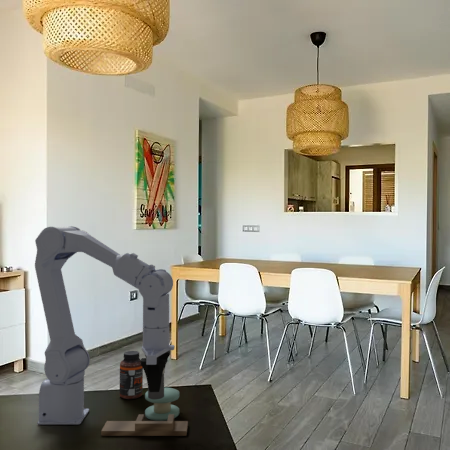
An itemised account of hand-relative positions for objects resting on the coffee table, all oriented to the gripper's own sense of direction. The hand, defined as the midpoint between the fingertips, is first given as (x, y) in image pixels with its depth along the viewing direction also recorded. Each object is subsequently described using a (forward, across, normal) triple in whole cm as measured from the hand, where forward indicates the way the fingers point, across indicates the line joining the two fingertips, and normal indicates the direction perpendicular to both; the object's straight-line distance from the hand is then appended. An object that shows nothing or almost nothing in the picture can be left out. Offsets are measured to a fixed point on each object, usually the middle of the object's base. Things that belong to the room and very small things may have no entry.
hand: (155, 388), depth 103 cm
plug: (+2, 0, 0) cm, 2 cm away
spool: (+9, +8, 0) cm, 12 cm away
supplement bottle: (+9, +20, +9) cm, 23 cm away
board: (+9, -1, +2) cm, 9 cm away
